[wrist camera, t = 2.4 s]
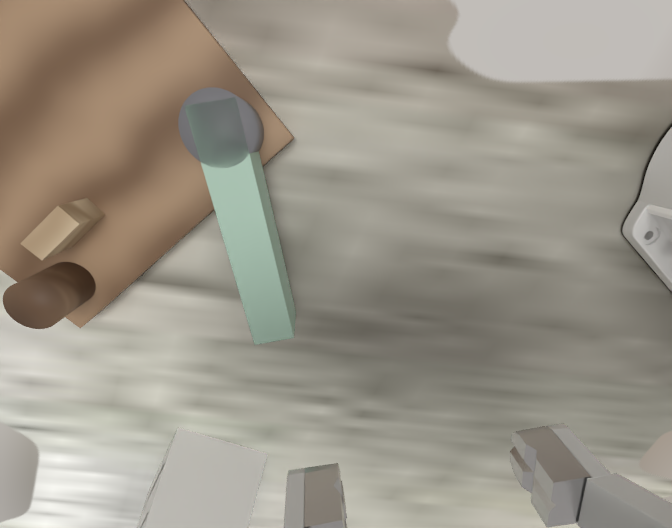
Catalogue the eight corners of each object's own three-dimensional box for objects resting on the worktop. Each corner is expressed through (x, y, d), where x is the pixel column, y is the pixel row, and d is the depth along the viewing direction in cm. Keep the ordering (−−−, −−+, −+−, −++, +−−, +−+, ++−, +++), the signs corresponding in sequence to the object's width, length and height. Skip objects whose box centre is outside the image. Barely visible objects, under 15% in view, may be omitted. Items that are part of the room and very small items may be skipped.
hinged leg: (191, 101, 22) (167, 94, 18) (255, 91, 22) (244, 81, 18) (253, 319, 28) (245, 346, 25) (303, 310, 28) (303, 336, 25)
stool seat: (294, 138, 26) (290, 137, 20) (98, 313, 30) (44, 357, 24) (8, -219, 18) (-141, -397, 12) (-205, 81, 22) (-396, 60, 16)
